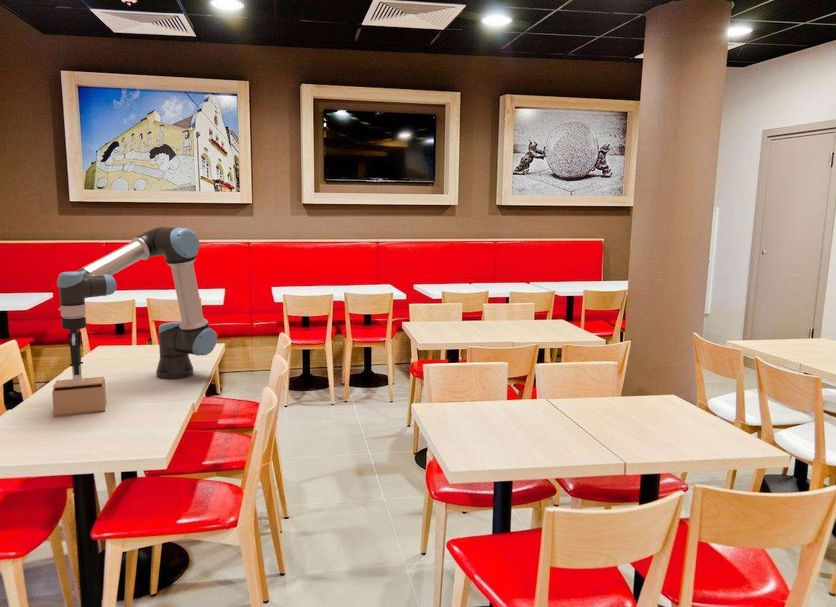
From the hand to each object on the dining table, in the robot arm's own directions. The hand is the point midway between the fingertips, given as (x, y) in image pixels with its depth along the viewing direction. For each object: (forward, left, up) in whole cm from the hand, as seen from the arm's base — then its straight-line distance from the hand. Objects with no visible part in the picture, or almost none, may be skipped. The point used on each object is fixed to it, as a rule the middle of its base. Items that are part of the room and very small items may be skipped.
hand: (77, 383), depth 233 cm
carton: (0, -5, -11) cm, 12 cm away
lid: (0, -5, -1) cm, 5 cm away
